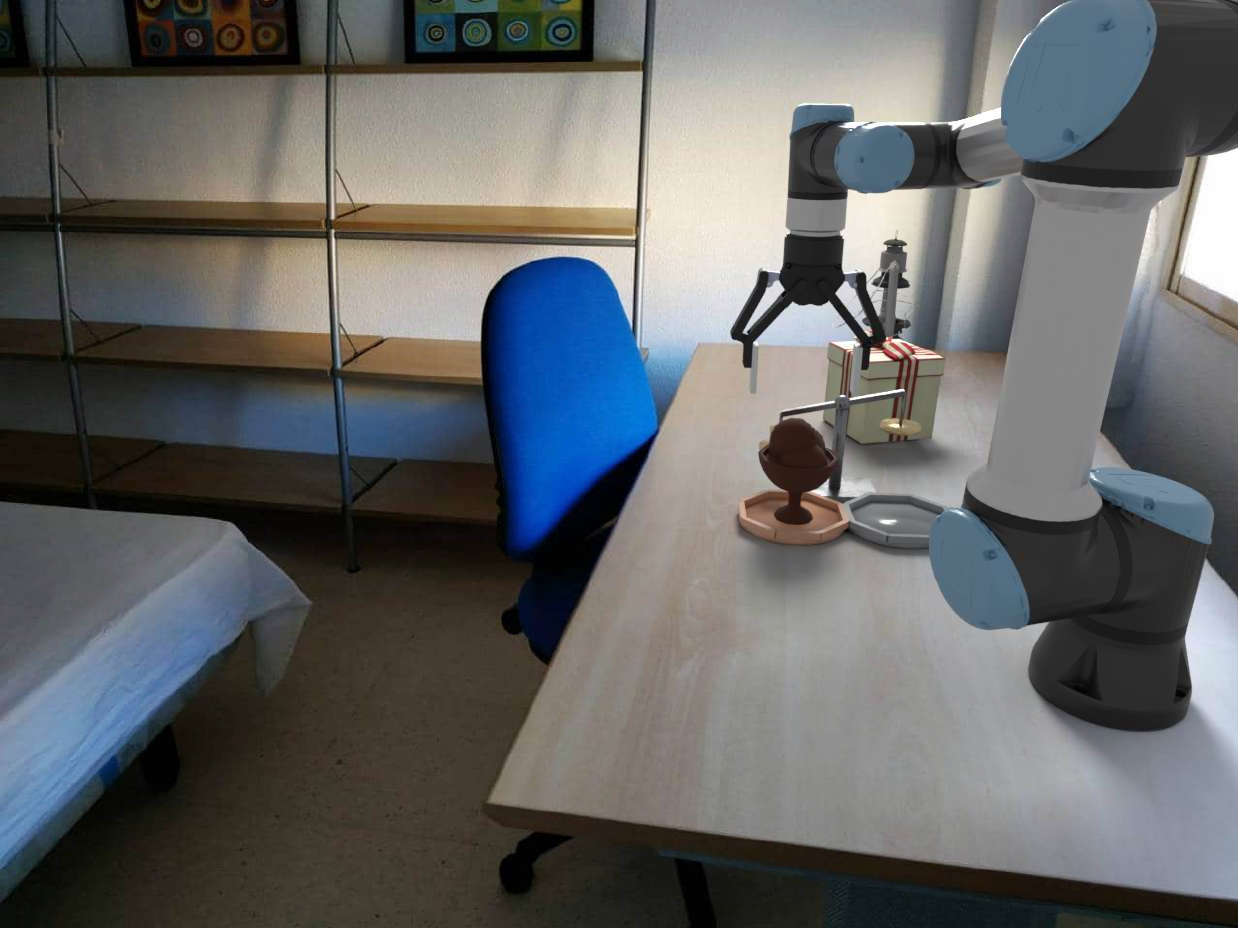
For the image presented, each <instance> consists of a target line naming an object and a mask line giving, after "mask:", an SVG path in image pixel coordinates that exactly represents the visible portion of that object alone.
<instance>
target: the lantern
mask: <svg viewBox="0 0 1238 928" xmlns="http://www.w3.org/2000/svg"><path fill="white" fill-rule="evenodd" d="M898 231H899V230H898V229H897V230H896V231H895V233H896V234H895V235H894V236H895V237H894V239H893V238H892V239H887V240H885V241H883V244H882V245H885V246H886V250H882V251H880V259H879V262H880V263H879V267H878V268H877V270H876V271H875V272H874V274H873V275H872V276H871V277H870V278H869V280H867V284H868V283H869V282H870V281H871V280H872V282H871V285H872V286H873V287H876V289H875V290H873V291H872V292H871V293H870V294H869V296H870V298H871V299H872V298H873V297H874V295H875V294H876V292H882V296H881V297H882V299H879V300H876V301H872V303H873V304H874V303H877V302H881V304H880V305H881V306H880V308H879V309H878V310H879V311H880V313H879V314H878V315H877V316H878V318H879V320H880V323H881V325H882V328H883V330H884V333H885V335H886V337H893V338H892V339H901V340H903V341H905V342H907V341H906V340H905V339H903V338H902V337H901V336H899V335H901V334H903V329H908V328H910V327H911V326H912V323H911V321H910V320H909V319H910V317H912V315H913V313H914V311H915V309H914V306H915V303H914V302H913V300H911V299H910V298H909V297H908V296H906V295H905V294H902V293H898V290H901V289H907V288H910V287H911V284H910V282H909V280H908V279H907V278H904V277H903V274H904V273H907V272H908V269H907V258H908V252H907V251H904V248H903V247H906V246H908V243H907V242H906V241H905V240H902V239H898V238H897V237H898V235H897V234H898ZM878 271H879V272H881V274H880V276H878V277H875V276H876V274H877V273H878ZM874 277H875V278H874ZM879 288H880V289H882V288H883V290H880V289H879ZM897 295H900V296H903V297H905V298H907V300H909V301H910V302H911V303H910V302H909V301H906V300H905V301H903V300H900V302H901V303H907V304H910V305H912V306H911V307H910V308H909V309H908V311H911V309H912V308H913V309H912V312H911V314H910V315H909V316H908V317H907V316H906V315H907V313H904V314H903V315H904V317H905V318H904V319H902V318H898V317H897V316H896V309H897V308H896V307H897V302H899V300H897ZM856 297H858V296H857V294H856V293H855V295H854V296H853V298H851V299H850V300H849V302H847V304H846V305H845V307H846V308H847V306H848V305H849V304H850V303H851V302H852V301H853V300H854V299H856ZM861 313H864V311H863V308H862V309H861V310H860V311H859V313H858V314H856V315H855V316H853V317H854V318H855V319H856V317H858V316H859V315H861ZM864 314H865V313H864ZM839 317H840V315H839V314H838V315H837V317H836V318H835V319H834V321H833V323H832V325H831V328H833V329H836V328H840V327H842V326H844V325H845V324H846V322H845V321H844V322H843V323H841V324H838V326H834V325H835V323H836V321H837V319H838V318H839ZM861 322H862V323H863V325H865V326H866V327H870V325H869V323H868V320H867V318H866V316H864V318H862V320H861ZM853 340H855V341H859V339H858V338H857V337H856V335H854V337H853Z"/></svg>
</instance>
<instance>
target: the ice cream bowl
mask: <svg viewBox="0 0 1238 928" xmlns="http://www.w3.org/2000/svg"><path fill="white" fill-rule="evenodd" d="M774 425H775V426H774V430H773V431H772V433H771V436H770V435H769V437H770V442H769V444H767V445H766V446H765V447H764V448H762V449H761V450H759V451H757V453H758V454H757V455H758V460H759V464H760V467H761V469H762V471H763V473H764V474H765V475H766V477H767V479H768V480H770V482H771V483H772V484H773V486H776V487H777V488H778V489H779V490H785V491H788V494H789V500H788V505H785V506H782V507H779V508H778V509H777V510H776V511H775V513H774V516H775V518H776V520H778V521H780V522H783V523H785V524H792V525H802V524H807V523H810V522H811V520H812V519H813V516H812V514H811V513H810V511H809V510H808V509H806V508H804V507H802V506H801V496H802V494H803V493H805V492H810V491H813V490H815V489H817V488H819V487H820V486H821V485H823V484H824V483H825V482H826V481H827V480H828V479H829V478H830V477H831V476H832V474H833V473H834V471H835V470H836V468H837V465H838V461H839V458H838V456H837V455H836V454H835V453H834V452H833V451H832V448H827V447H826V443H825V441H824V436H823V435H822V434H821V433H820V432H819V431H818V430H816V428H815V427H813V426H812V424H810V423H809V422H807V421H806V420H805V419H803V418H801V417H790V418H787V419H783V421H780V422H779V421H778V423H777V424H774Z"/></svg>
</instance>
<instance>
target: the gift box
mask: <svg viewBox="0 0 1238 928" xmlns="http://www.w3.org/2000/svg"><path fill="white" fill-rule="evenodd" d="M864 331H865V333H866V334H870V333H873V332H872V330H871V329H867V330H864ZM892 338H893V337H886V341H885V342H883V343H877V344H874V345H873V346H872V347H871V351H870V362H869V368H868V370H861V374H860V385H859V396H865V395H871V394H877V393H883V392H888V391H894V390H900V389H904V391H905V392H906V397H905V406H904V414H903V419H906V420H911V421H914V422H917V423H919V424H920V425H921V432H920V433H919V434H916V435H908V436H903V435H894V434H890V433H886V432H884V431H882V430H881V429H880V428H879V424H880V421H882V420H885V419H892V418H897V419H899V418H900V409H901V401H902V397H897V398H891V399H885V400H879V401H874V402H868V403H862V404H856V405H850V407H849V409H848V415H847V425H846V436H848V437H850V438H851V439H853V440H854V441H856V442H858V443H859V444H865V445H866V444H876V443H877V444H879V443H889V442H903V441H914V440H915V441H916V440H922V439H924V440H926V439H927V440H928V439H932V438H933V432H934V425H935V419H936V418H935V417H936V411H937V405H938V400H939V399H938V397H939V391H940V383H941V377H942V376H944V373H945V365H946V356H943V355H940V354H938V353H936V352H934V351H932V350H930V349H925V348H923V347H920V346H918V345H914V344H913V343H909V342H908V341H906V340H905V341H906V342H905V341H903V340H904V339H903V340H901V339H892ZM854 343H859V344H860V340H859V341H856V340H850V341H849V340H848V341H830V342H828V344H827V345H828V346H827V356H826V359H827V360H828V366H827V367H828V368H827V375H826V376H827V377H826V384H825V385H826V386H825V395H824V396H825V397H824V402H830V401H835V399H836V397H838V396H840V395H846V396H847V397H849V398H853V397H859V396H853V395H852V393H851V392H850V380H851V369H852V358H853V346H854ZM835 410H836V408H833V409H827V410H823V415H822V420H823V421H824V422H826V423H828V424H830V425H831V426H832V427H834V421H835Z"/></svg>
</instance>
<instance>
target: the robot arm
mask: <svg viewBox="0 0 1238 928" xmlns="http://www.w3.org/2000/svg"><path fill="white" fill-rule="evenodd" d="M791 121H792V122H791V123H792V124H791V130H790V133H789V157H788V158H789V160H788V177H787V178H788V179H787V182H788V183H787V196H786V197H787V198H786V199H787V200H786V213H785V214H786V215H785V228H786V229H787V230H789V232H787V233H786V234H785V235H784V243H783V259H782V267H781V269H780V271H776V270H775V271H774V270H767V268H765V267H761V268H759V269H758V271H757V277H756V283H755V286H754V288H753V289H752V291H751V292H750V295H749V297H748V298H747V300H746V301H745V303H744V305H743V307H742V309H741V311H740V312H739V314H738V316H737V318H736V320H735V321H734V323H733V325H732V327H731V329H730V330H729V331H730V338H731V339H732V340H733V341H737V342H740V343H742V365H743V368H744V369H749V372H750V373H749V385H748V386H749V387H748V389H749V393H750V394H752V395H753V394H755V395H757V385H758V384H757V382H758V369H759V368H758V365H759V348H760V345H759V342H758V341H757V339H759V337H760V336H761V335H762V334H763V333H764V332H765V331H766V330H767V329H768V328H769V327H770V326H771V325H772V323H773V322H774V321H775V320H776V319H777V318H778V317H779V316H780V315H781V314H782V312H784V311H785V310H786V309H787V308H789V307H790V305H791V304H793V303H794V304H795V305H798V306H801V307H802V306H804V307H805V306H808V305H813V306H816V307H819V306H820V307H823V305H825V304H827V303H828V302H829V303H830V304H831V305H832V307H833V308H834V309H835V311H836V313H838V315H839V317H841V318H842V320H843V321H844V323H845V322H846V323H845V324H846V325H847V326H848V327H849V329H850V330H851V331H852V333H853V334H854V336H856V337H857V338H858V339H859V340H860V344H859V343H854V346H853V358H852V369H851V380H850V392H851V393H852V395H853V396H859V385H860V374H861V370H868V368H869V362H870V351H871V347H872V346H873V345H874V344H877V343H883V342H885V341H886V335H885V333H884V330H883V328H882V325H881V323H880V320H879V318H878V316H879V315H878V314H877V311H876V308H875V306H874V303H872V302H873V301H872V298H871V295H870V294H869V291H868V288H867V287H868V286H867V284H868V283H867V282H868V280H867V273H865V272H864V270H862V269H861V268H857V269H855V271H847V272H844V271H843V255H844V246H845V245H844V244H845V237H844V235H843V234H842V233H841V232H843V231H844V230H845V229H846V221H847V208H848V206H847V205H848V196H849V190H851V191H855V192H857V193H860V194H863V195H867V194H886V193H888V192H892V191H897V190H898V191H905V190H923V189H924V190H925V189H926V190H927V189H930V190H931V189H962V190H974V189H981V188H987V187H993V186H996V185H997V184H999V183H1001V181H1002V180H1003V179H1007V178H1013V177H1020V180H1021V181H1022V182H1023V184H1024V185H1025V186H1026V187H1027V188H1028V190H1029V192H1031V194H1032V195H1033V198H1034V201H1035V203H1034V208H1033V213H1032V220H1031V225H1030V231H1029V236H1028V241H1027V246H1026V247H1027V248H1026V253H1025V258H1024V263H1023V268H1022V273H1021V278H1020V284H1019V289H1018V295H1017V300H1016V305H1015V311H1014V316H1013V322H1012V328H1011V333H1010V338H1009V344H1008V350H1007V355H1006V360H1005V366H1004V371H1003V374H1002V375H1003V377H1002V381H1001V387H1000V393H999V398H998V402H997V403H998V404H997V409H996V414H995V420H994V424H993V431H992V437H991V440H990V447H989V451H988V457H987V462H986V463H984V464H982V465H981V466H979V467H978V468H976V469H974V470H973V471H971V472H970V473H969V474H968V476H967V478H966V481H965V487H964V493H963V498H962V503H961V506H960V507H955V506H953V507H951V506H950V507H948V508H949V509H948V510H946V511H944V512H942V514H941V515H939V516H937V517H936V519H935V520H934V522H933V524H932V527H931V530H930V535H929V548H928V554H929V555H928V556H929V560H930V567H931V570H932V573H933V576H934V579H935V581H936V583H937V586H938V588H939V591H940V593H941V595H942V597H943V598H944V600H945V602H946V603H947V604H948V606H949V607H950V609H951V611H953V612H954V613H955V614H956V615H957V616H958V617H959V618H960V619H961V620H962V621H964V622H965V623H966V624H968V625H970V626H971V627H974V628H976V629H979V630H984V631H993V630H994V631H995V630H1004V629H1006V630H1007V629H1010V630H1021V629H1023V628H1025V627H1027V626H1031V625H1032V626H1033V625H1039V624H1045V623H1047V624H1046V626H1045V627H1044V629H1043V631H1042V632H1041V633H1040V636H1039V637H1038V639H1037V640H1036V642H1035V643H1034V644H1033V647H1032V650H1031V652H1030V657H1029V663H1028V667H1027V674H1028V677H1029V679H1030V682H1031V684H1032V685H1033V687H1034V688H1035V689H1036V691H1038V693H1040V695H1041V696H1042V697H1044V698H1045V699H1046V700H1047V701H1048V702H1050V703H1051V704H1053V705H1054V706H1056V707H1058V708H1059V709H1061V710H1063V711H1064V712H1067V713H1069V714H1070V715H1072V716H1076V717H1078V718H1080V719H1083V720H1085V721H1089V722H1090V723H1094V724H1097V725H1100V726H1101V725H1102V726H1105V727H1110V728H1115V729H1118V730H1119V729H1120V730H1129V731H1155V730H1162V729H1166V728H1170V727H1173V726H1175V725H1177V724H1179V723H1180V722H1181V721H1183V720H1184V719H1185V717H1186V716H1187V713H1188V710H1189V706H1190V703H1191V699H1192V695H1193V693H1192V692H1193V683H1192V678H1191V677H1192V676H1191V671H1190V666H1189V665H1190V664H1189V657H1188V651H1187V643H1186V635H1187V632H1188V626H1189V622H1190V619H1191V617H1192V616H1191V615H1192V610H1193V607H1194V603H1195V600H1196V596H1197V592H1198V588H1199V585H1200V581H1201V577H1202V574H1203V569H1204V565H1205V561H1206V557H1207V555H1208V551H1209V546H1210V545H1211V544H1212V541H1213V540H1212V537H1211V536H1212V531H1213V527H1214V526H1213V525H1214V518H1215V513H1214V508H1213V505H1212V504H1211V502H1210V501H1209V500H1208V499H1207V497H1205V496H1204V495H1203V494H1202V493H1200V492H1198V491H1197V490H1195V489H1194V488H1192V487H1189V486H1187V485H1185V484H1183V483H1181V482H1178V481H1175V480H1172V479H1171V478H1170V479H1169V478H1168V477H1164V476H1160V475H1156V474H1153V473H1149V472H1145V471H1140V470H1135V469H1131V468H1123V467H1117V466H1116V467H1115V466H1098V467H1094V468H1092V466H1093V462H1094V458H1095V452H1096V448H1097V445H1098V441H1099V437H1100V432H1101V428H1102V423H1103V419H1104V416H1105V410H1106V406H1107V403H1108V402H1107V401H1108V396H1109V393H1110V389H1111V385H1112V380H1113V375H1114V372H1115V366H1116V363H1117V360H1118V359H1117V358H1118V354H1119V350H1120V345H1121V342H1122V338H1123V332H1124V328H1125V326H1126V320H1127V317H1128V312H1129V311H1128V310H1129V306H1130V303H1131V298H1132V293H1133V290H1134V285H1135V282H1136V277H1137V273H1138V268H1139V264H1140V259H1141V255H1142V250H1143V246H1144V242H1145V237H1146V234H1147V229H1148V225H1149V221H1150V216H1151V212H1152V210H1153V208H1155V206H1156V205H1157V204H1158V203H1160V202H1161V201H1163V200H1164V199H1165V198H1167V197H1169V196H1170V195H1171V194H1173V193H1174V192H1177V190H1178V189H1179V187H1180V182H1181V178H1182V174H1183V170H1184V166H1185V162H1186V159H1187V158H1193V157H1194V158H1195V157H1198V158H1199V157H1205V156H1214V155H1219V154H1224V153H1225V154H1226V153H1228V152H1231V151H1234V150H1236V149H1238V0H1068V1H1066V2H1064V3H1062V4H1060V5H1059V6H1057V7H1056V8H1054V9H1052V10H1051V11H1050V12H1048V13H1047V14H1046V15H1045V16H1044V17H1042V18H1041V19H1040V21H1039V22H1038V23H1037V26H1036V27H1035V28H1034V29H1032V30H1030V31H1029V32H1028V34H1027V35H1026V37H1024V39H1023V40H1022V42H1021V44H1020V46H1019V47H1018V48H1017V51H1016V52H1015V55H1014V56H1013V59H1012V61H1011V63H1010V65H1009V68H1008V70H1007V73H1006V77H1005V79H1004V84H1003V88H1002V93H1001V98H1000V107H999V108H996V109H994V110H989V111H986V112H982V113H981V114H980V113H979V114H977V115H974V116H971V117H968V118H965V119H961V120H957V121H944V122H943V121H942V122H941V121H940V122H920V121H919V122H906V121H905V122H902V121H901V122H895V121H894V122H893V121H889V122H886V121H885V122H884V121H878V122H876V121H865V122H863V121H862V122H861V121H860V122H857V121H856V122H855V110H854V108H853V106H852V105H851V104H848V103H801V104H799V105H797V106H795V108H794V110H793V112H792V120H791ZM778 281H779V283H780V285H781V287H782V288H783V289H784V290H783V291H782V292H781V293H780V294H779V295H778V296H777V298H776V299H775V300H774V301H773V302H772V304H771V305H770V306H769V307H768V308H767V309H765V311H764V313H762V315H761V316H759V318H758V319H757V320H756V321H755V322H754V323H753V325H751V327H749V329H748V330H747V331H745V329H746V327H747V326H748V324H749V322H750V320H751V319H752V317H753V315H754V313H755V312H756V310H757V307H758V306H759V304H760V303H761V301H762V299H763V297H764V295H765V293H766V290H767V288H768V289H769V288H771V287H773V285H774V283H775V282H778ZM845 282H847V283H848V285H849V287H850V288H852V289H854V290H855V295H856V294H857V296H856V297H857V298H858V301H859V303H860V305H861V308H862V309H863V311H864V315H865V316H864V317H866V318H867V320H868V323H869V325H870V326H869V327H870V330H872V332H873V333H870V334H866V333H865V330H864V329H863V328H862V326H861V324H859V322H858V321H857V320H856V317H855V316H853V314H852V313H851V312H850V311H849V309H848V308H847V306H846V305H845V304H844V303H843V302H842V300H841V299H840V298H839V296H838V295H837V292H838V290H839V289H841V287H842V286H843V285H844V283H845ZM845 306H846V307H845ZM863 311H862V312H863ZM854 317H855V318H854Z"/></svg>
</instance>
